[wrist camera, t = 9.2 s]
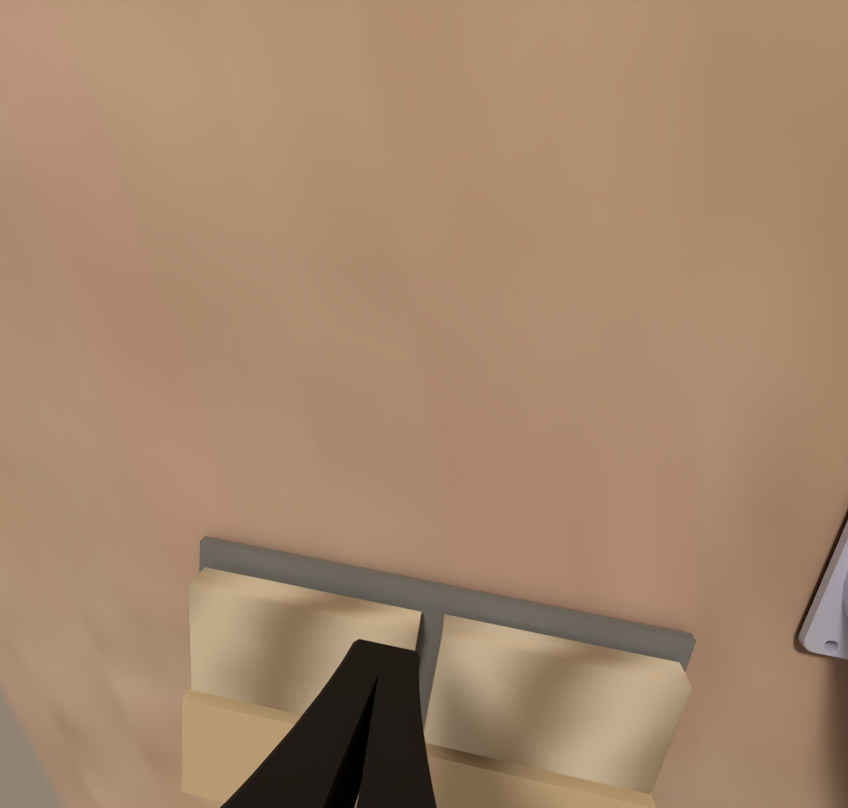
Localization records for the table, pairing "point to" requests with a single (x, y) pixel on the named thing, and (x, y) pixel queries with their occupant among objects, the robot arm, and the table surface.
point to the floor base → (450, 769)
